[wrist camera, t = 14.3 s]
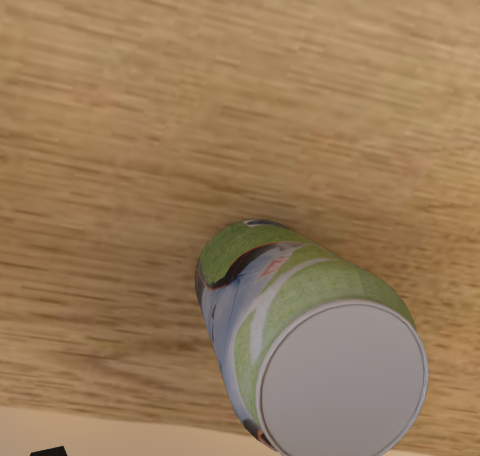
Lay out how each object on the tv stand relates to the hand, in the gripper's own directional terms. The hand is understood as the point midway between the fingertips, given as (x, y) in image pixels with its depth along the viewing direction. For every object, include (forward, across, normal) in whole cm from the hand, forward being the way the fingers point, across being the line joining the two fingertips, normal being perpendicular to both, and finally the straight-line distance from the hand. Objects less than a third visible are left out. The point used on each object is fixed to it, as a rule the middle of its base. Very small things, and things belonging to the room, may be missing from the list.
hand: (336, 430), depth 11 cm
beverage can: (+13, 0, 0) cm, 13 cm away
